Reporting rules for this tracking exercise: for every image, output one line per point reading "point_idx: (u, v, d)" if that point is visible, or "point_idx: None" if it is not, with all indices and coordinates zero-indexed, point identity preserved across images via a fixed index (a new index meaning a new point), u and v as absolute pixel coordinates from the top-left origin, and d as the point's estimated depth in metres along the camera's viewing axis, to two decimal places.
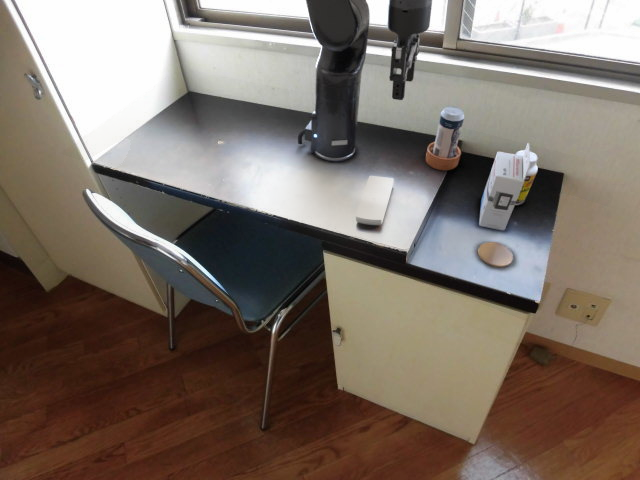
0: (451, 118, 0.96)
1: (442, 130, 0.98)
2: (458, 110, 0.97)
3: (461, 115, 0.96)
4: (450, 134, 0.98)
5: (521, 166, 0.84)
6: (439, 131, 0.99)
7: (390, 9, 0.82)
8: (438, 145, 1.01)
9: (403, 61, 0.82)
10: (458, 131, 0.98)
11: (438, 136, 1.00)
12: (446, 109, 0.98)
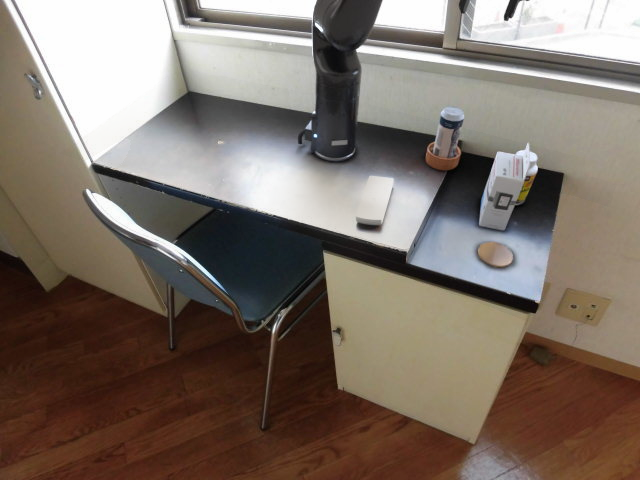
0: (451, 118, 0.96)
1: (442, 130, 0.98)
2: (458, 110, 0.97)
3: (461, 115, 0.96)
4: (450, 134, 0.98)
5: (521, 166, 0.84)
6: (439, 131, 0.99)
7: None
8: (438, 145, 1.01)
9: None
10: (458, 131, 0.98)
11: (438, 136, 1.00)
12: (446, 109, 0.98)
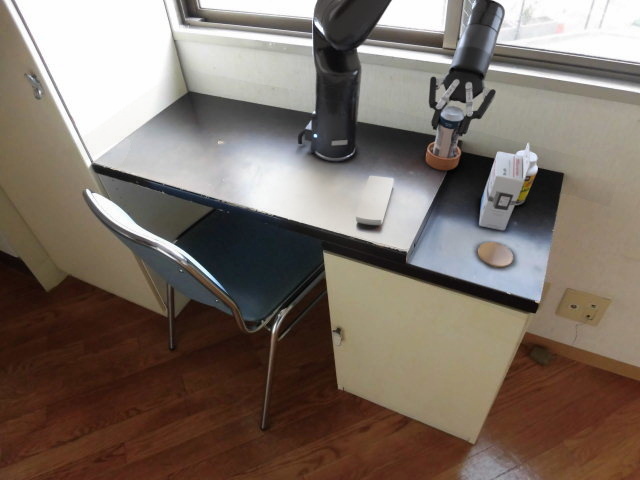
0: (451, 118, 0.96)
1: (442, 130, 0.98)
2: (458, 110, 0.97)
3: (461, 115, 0.96)
4: (450, 134, 0.98)
5: (521, 166, 0.84)
6: (439, 131, 0.99)
7: (484, 54, 0.95)
8: (438, 145, 1.01)
9: None
10: (458, 131, 0.98)
11: (438, 136, 1.00)
12: (446, 109, 0.98)
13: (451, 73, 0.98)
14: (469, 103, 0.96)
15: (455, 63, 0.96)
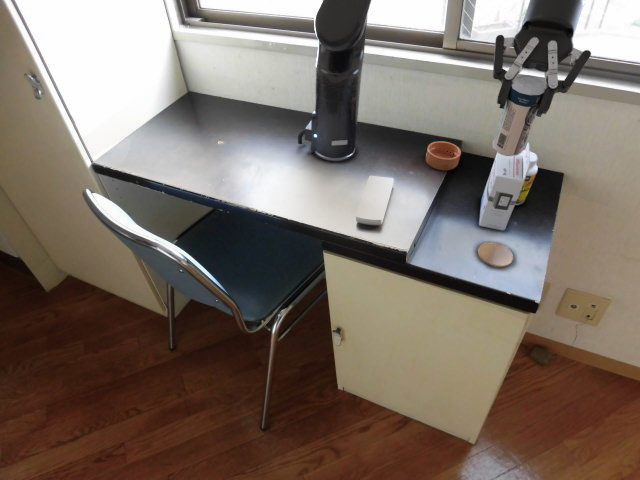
0: (528, 90, 0.69)
1: (513, 108, 0.71)
2: (536, 80, 0.70)
3: (542, 87, 0.69)
4: (524, 113, 0.71)
5: (521, 166, 0.84)
6: (508, 110, 0.73)
7: (576, 1, 0.68)
8: (505, 130, 0.74)
9: (580, 71, 0.70)
10: (535, 110, 0.71)
11: (506, 117, 0.73)
12: (519, 79, 0.71)
13: (525, 30, 0.71)
14: (553, 70, 0.69)
15: (533, 15, 0.69)
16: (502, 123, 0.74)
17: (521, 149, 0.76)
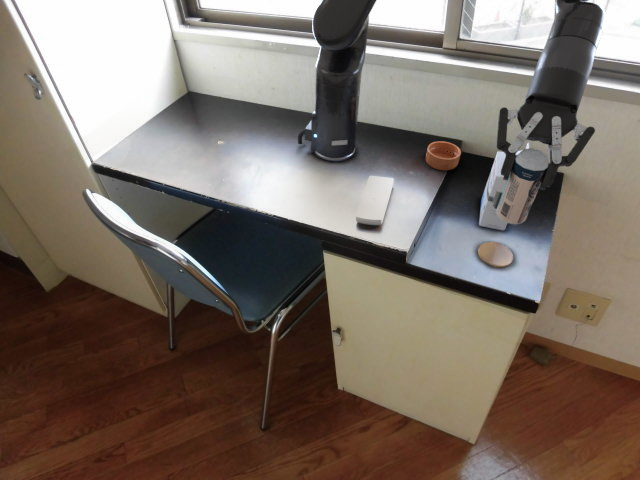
0: (531, 166, 0.69)
1: (517, 181, 0.72)
2: (540, 154, 0.71)
3: (545, 162, 0.69)
4: (528, 187, 0.71)
5: None
6: (512, 182, 0.73)
7: (580, 78, 0.68)
8: (509, 200, 0.74)
9: None
10: (539, 183, 0.71)
11: (509, 188, 0.73)
12: (523, 153, 0.71)
13: (529, 103, 0.71)
14: (557, 146, 0.69)
15: (537, 90, 0.69)
16: (506, 193, 0.74)
17: (525, 217, 0.76)
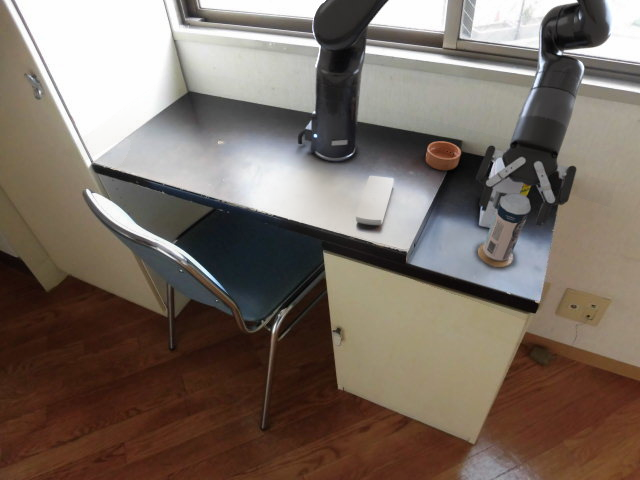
0: (515, 210, 0.75)
1: (501, 223, 0.77)
2: (523, 199, 0.76)
3: (527, 207, 0.75)
4: (512, 228, 0.77)
5: None
6: (497, 223, 0.78)
7: (560, 127, 0.73)
8: (494, 239, 0.80)
9: None
10: (522, 224, 0.77)
11: (495, 228, 0.79)
12: (507, 197, 0.77)
13: (514, 148, 0.77)
14: (546, 187, 0.74)
15: (520, 137, 0.75)
16: (492, 232, 0.80)
17: (509, 254, 0.82)
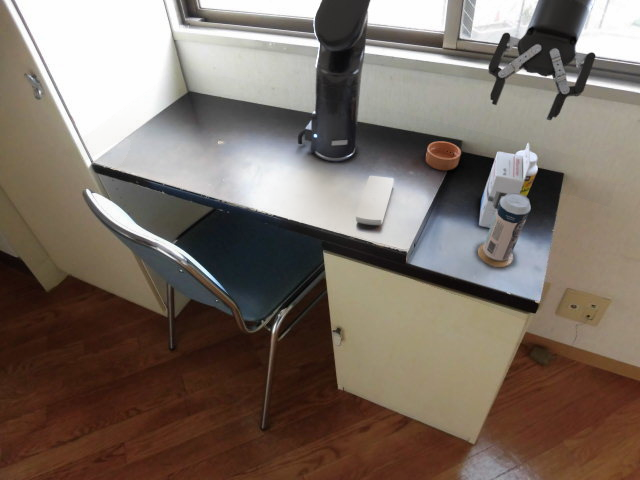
0: (515, 210, 0.75)
1: (501, 223, 0.77)
2: (523, 199, 0.76)
3: (527, 207, 0.75)
4: (512, 228, 0.77)
5: (521, 166, 0.84)
6: (497, 223, 0.78)
7: (581, 9, 0.68)
8: (494, 239, 0.80)
9: None
10: (522, 224, 0.77)
11: (495, 228, 0.79)
12: (507, 197, 0.77)
13: (530, 34, 0.72)
14: (561, 77, 0.71)
15: (537, 21, 0.70)
16: (492, 232, 0.80)
17: (509, 254, 0.82)
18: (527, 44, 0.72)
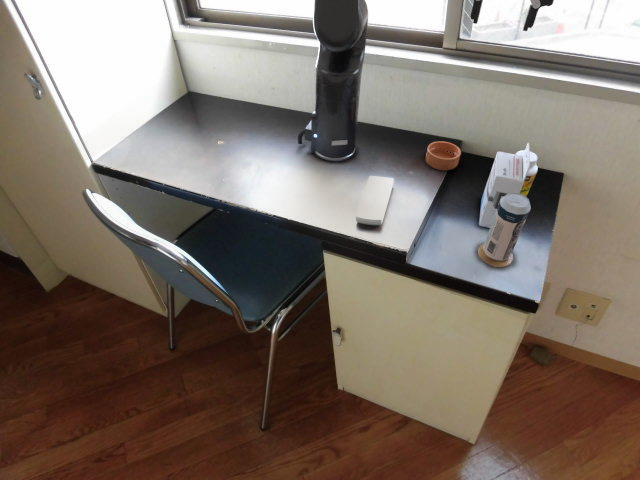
0: (515, 210, 0.75)
1: (501, 223, 0.77)
2: (523, 199, 0.76)
3: (527, 207, 0.75)
4: (512, 228, 0.77)
5: (521, 166, 0.84)
6: (497, 223, 0.78)
7: None
8: (494, 239, 0.80)
9: None
10: (522, 224, 0.77)
11: (495, 228, 0.79)
12: (507, 197, 0.77)
13: None
14: None
15: None
16: (492, 232, 0.80)
17: (509, 254, 0.82)
18: None
